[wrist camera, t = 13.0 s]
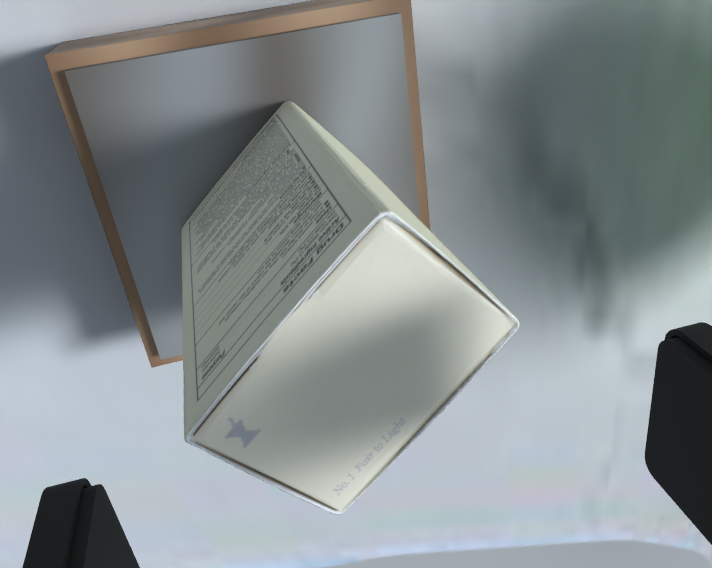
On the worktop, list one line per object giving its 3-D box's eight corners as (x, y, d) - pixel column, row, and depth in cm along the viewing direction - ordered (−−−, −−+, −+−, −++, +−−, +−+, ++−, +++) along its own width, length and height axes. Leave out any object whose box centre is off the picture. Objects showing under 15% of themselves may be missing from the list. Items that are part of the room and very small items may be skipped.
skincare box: (270, 290, 25) (337, 529, 15) (173, 225, 23) (171, 449, 13) (378, 166, 24) (534, 330, 14) (286, 86, 22) (386, 206, 12)
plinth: (381, -11, 25) (414, -6, 22) (409, 263, 31) (438, 302, 27) (62, 42, 23) (41, 57, 20) (154, 323, 29) (151, 373, 26)
